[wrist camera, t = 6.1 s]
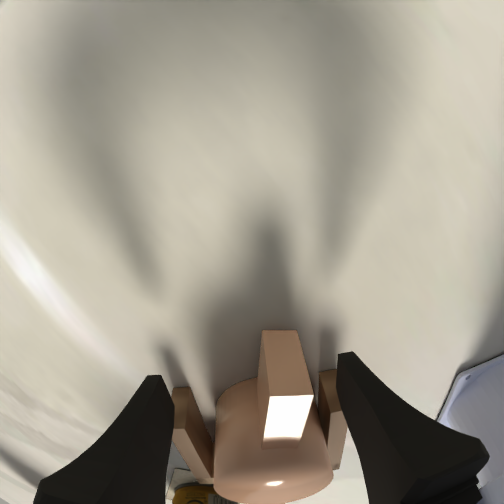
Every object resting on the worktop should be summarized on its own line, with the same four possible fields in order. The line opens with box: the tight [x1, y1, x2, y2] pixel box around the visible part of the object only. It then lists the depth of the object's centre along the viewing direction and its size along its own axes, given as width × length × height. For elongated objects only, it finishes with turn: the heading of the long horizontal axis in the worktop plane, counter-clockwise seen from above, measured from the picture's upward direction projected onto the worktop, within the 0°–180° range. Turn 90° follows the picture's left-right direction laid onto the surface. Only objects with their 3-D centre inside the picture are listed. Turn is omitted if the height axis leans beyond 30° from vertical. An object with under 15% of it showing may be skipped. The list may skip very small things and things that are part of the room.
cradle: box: [171, 369, 348, 484], centre depth 16 cm, size 9×7×3 cm
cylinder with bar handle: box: [214, 330, 333, 504], centre depth 14 cm, size 11×6×6 cm, turn 177°
